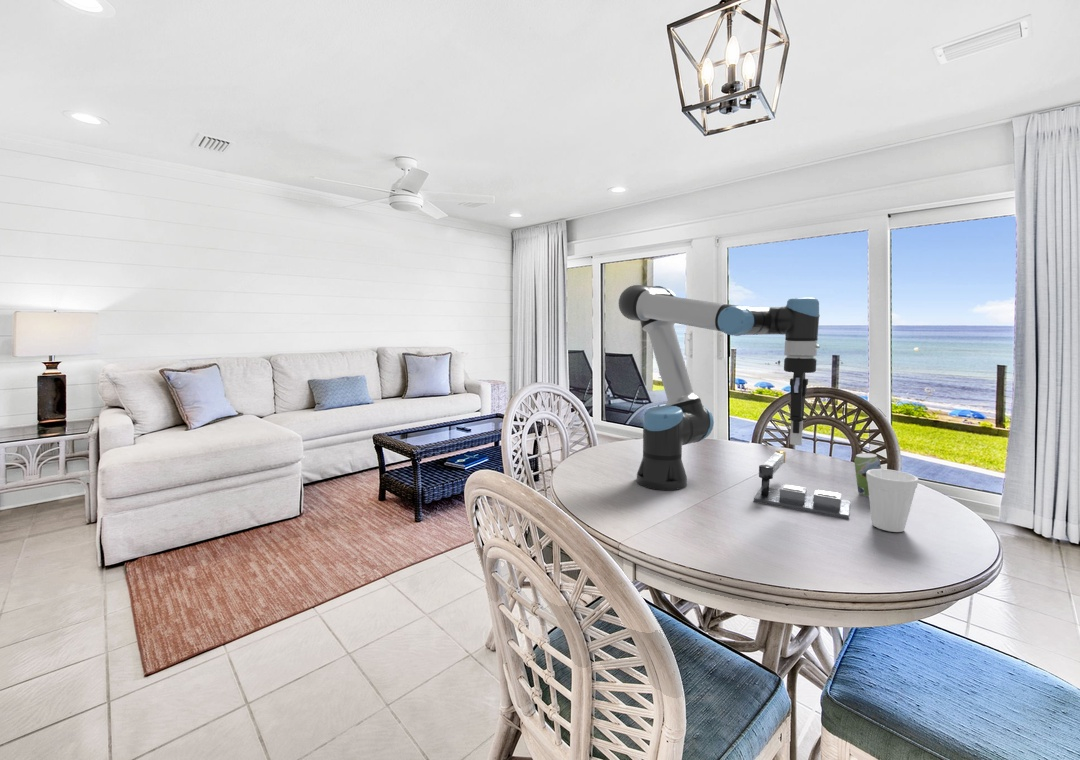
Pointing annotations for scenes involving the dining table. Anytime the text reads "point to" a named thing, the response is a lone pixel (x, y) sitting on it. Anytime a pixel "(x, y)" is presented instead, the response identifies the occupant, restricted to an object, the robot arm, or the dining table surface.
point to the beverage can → (865, 470)
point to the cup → (890, 498)
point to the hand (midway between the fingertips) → (795, 444)
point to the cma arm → (772, 465)
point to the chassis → (803, 500)
